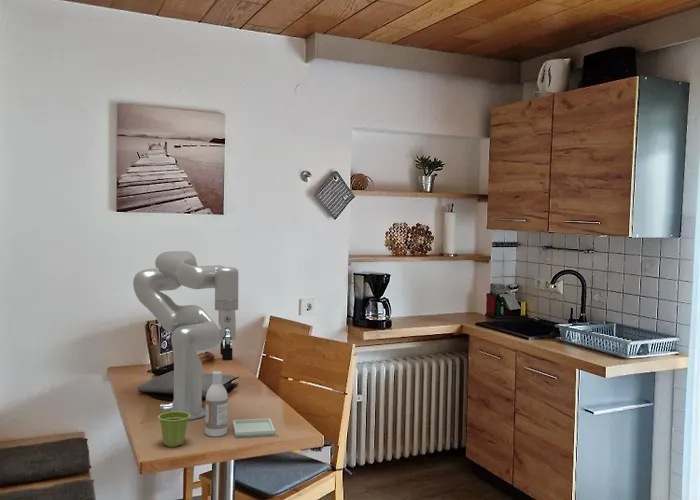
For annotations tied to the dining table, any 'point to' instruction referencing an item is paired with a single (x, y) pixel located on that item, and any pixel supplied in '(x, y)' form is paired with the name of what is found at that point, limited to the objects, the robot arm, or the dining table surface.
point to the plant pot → (173, 427)
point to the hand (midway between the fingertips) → (226, 357)
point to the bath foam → (216, 407)
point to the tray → (253, 428)
